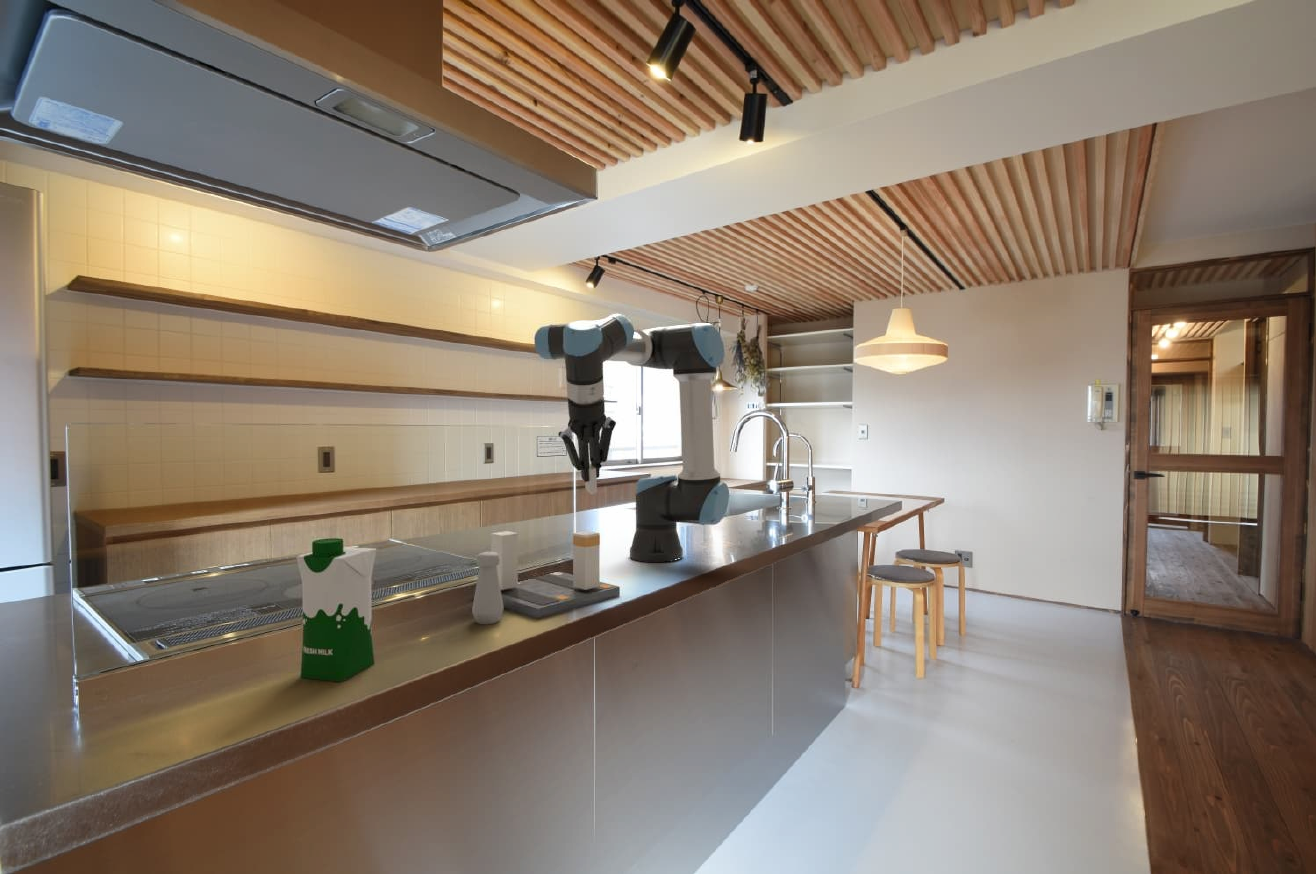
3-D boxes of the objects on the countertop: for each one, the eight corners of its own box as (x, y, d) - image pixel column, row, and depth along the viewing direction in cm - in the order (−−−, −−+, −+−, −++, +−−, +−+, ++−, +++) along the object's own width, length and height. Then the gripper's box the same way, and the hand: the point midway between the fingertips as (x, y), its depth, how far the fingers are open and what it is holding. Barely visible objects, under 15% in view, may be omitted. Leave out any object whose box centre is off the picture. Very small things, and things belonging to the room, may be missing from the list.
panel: (556, 578, 146) (556, 570, 146) (619, 595, 132) (619, 586, 132) (475, 597, 130) (475, 587, 130) (537, 619, 115) (537, 608, 115)
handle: (587, 582, 133) (587, 530, 133) (599, 586, 130) (599, 533, 130) (572, 586, 130) (572, 533, 130) (585, 589, 127) (585, 535, 127)
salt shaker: (484, 628, 110) (484, 557, 110) (465, 622, 113) (465, 553, 113) (510, 620, 115) (510, 552, 114) (491, 614, 118) (491, 548, 118)
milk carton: (290, 680, 87) (289, 542, 87) (335, 657, 96) (335, 532, 96) (342, 685, 85) (342, 544, 85) (384, 661, 94) (383, 534, 94)
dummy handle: (507, 583, 132) (507, 531, 132) (517, 586, 130) (517, 533, 130) (491, 586, 129) (491, 533, 129) (501, 590, 127) (501, 535, 127)
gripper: (565, 412, 118) (573, 508, 130) (622, 396, 124) (624, 489, 136) (549, 397, 123) (557, 492, 135) (604, 383, 130) (608, 474, 142)
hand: (591, 490), depth 136 cm, fingers closed
